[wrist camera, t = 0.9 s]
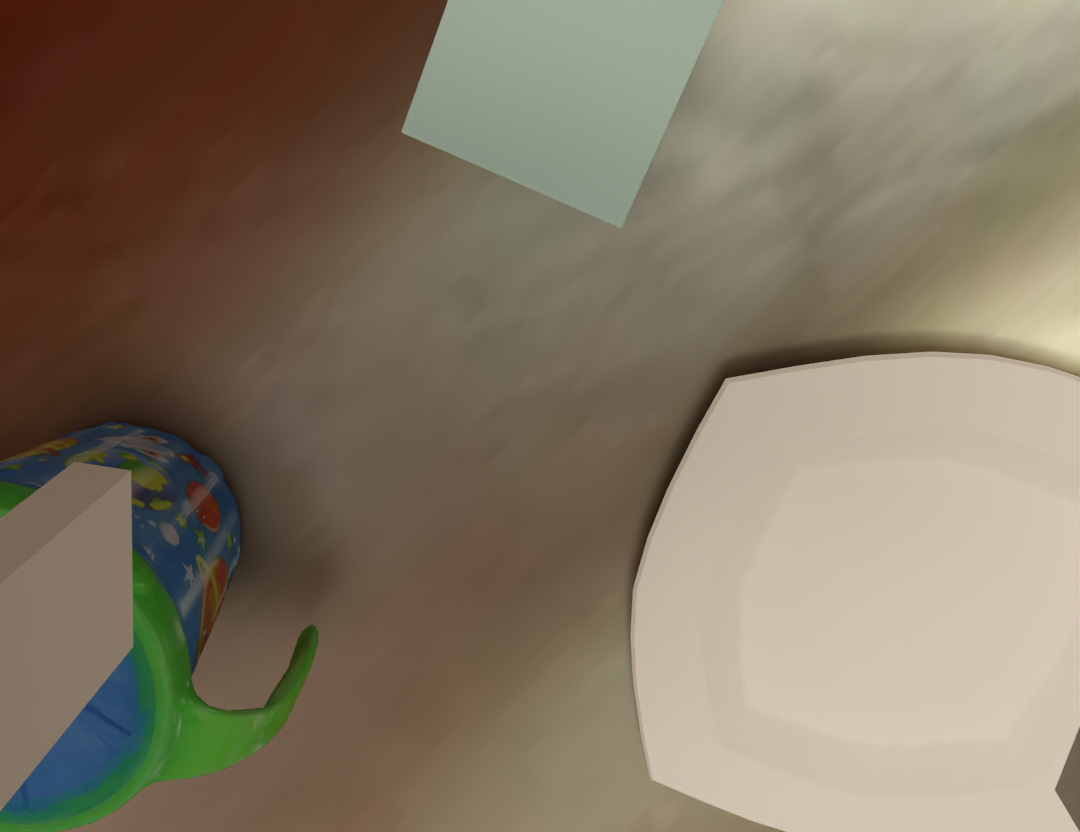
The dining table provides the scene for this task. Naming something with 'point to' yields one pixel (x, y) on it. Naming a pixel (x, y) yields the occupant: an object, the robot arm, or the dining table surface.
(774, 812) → the plate
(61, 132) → the dining table surface
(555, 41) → the grey-green block
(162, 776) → the snack cup
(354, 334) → the dining table surface
